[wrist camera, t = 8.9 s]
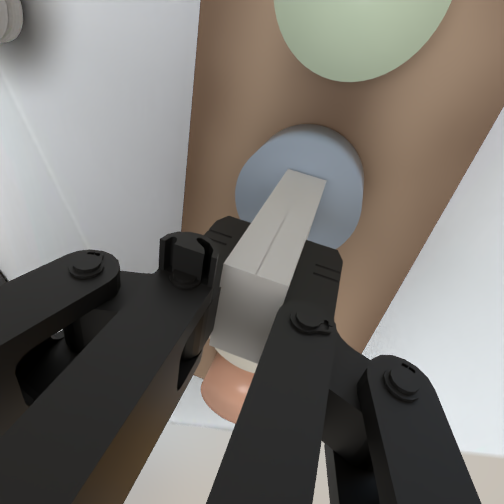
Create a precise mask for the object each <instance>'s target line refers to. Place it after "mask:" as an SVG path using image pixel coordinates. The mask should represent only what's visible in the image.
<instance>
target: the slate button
mask: <svg viewBox="0 0 504 504" xmlns="http://www.w3.org/2000/svg"><path fill="white" fill-rule="evenodd" d="M288 169H290V170H293V171H297V172H300V173H303V174H307V175H310V176H313V177H317V178H320V179H323V180H327V181H326V184H325V187H324V190H323V193H322V196H321V199H320V202H319V205H318V208H317V211H316V214H315V217H314V220H313V223H312V226H311V229H310V232H309V235H308V238H307V240H308V241H312V242H315V243H318V244H321V245H324V246H327V247H330V248H333V249H337V248H338V247H340V246H341V245H342V244H343V243H345V242H346V240H347V239H348V238H349V237H350V236H351V235H352V233H353V232H354V230H355V228H356V226H357V224H358V221H359V219H360V215H361V209H362V199H363V188H364V171H363V166H362V162H361V160H360V157H359V155H358V153H357V152H356V150H355V148H354V147H353V146H352V145H351V143H350V142H349V141H348V140H347V139H346V138H345V137H343V136H342V135H341V134H339V133H338V132H336V131H334V130H332V129H330V128H327V127H324V126H320V125H315V124H300V125H295V126H291V127H288V128H285V129H283V130H281V131H279V132H278V133H276V134H275V135H273V136H272V137H271V138H270V139H269V140H268V141H267V142H266V143H265V144H264V145H263V146H262V147H261V148H260V149H259V150H258V151H257V152H256V153H254V154H253V155H252V156H251V157H250V158H249V160H248V161H247V162H246V163H245V165H244V166H243V168H242V170H241V171H240V174H239V176H238V179H237V183H236V189H235V202H236V208H237V212H238V215H239V218H240V219H241V220H244V221H247V222H250V223H251V222H252V221H253V220H254V218H255V217H256V215H257V214H258V212H259V211H260V209H261V208H262V206H263V205H264V203H265V202H266V200H267V199H268V197H269V196H270V195H271V193H272V192H273V190H274V189H275V187H276V186H277V184H278V183H279V181H280V180H281V178H282V177H283V175H284V174H285V172H286V171H287V170H288Z"/></svg>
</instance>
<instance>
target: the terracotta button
mask: <svg viewBox="0 0 504 504" xmlns="http://www.w3.org/2000/svg"><path fill="white" fill-rule="evenodd" d="M253 376H254V373H251V372H248V371H245V370H243V369H241V368H239V367H237V366H235V365H233V364H232V363H230V362H229V361H227V360H226V359H225V358H224V357H223V356H222V355H220V354H219V352H217V354H216V356H215V358H214V360H213V362H212V364H211V366H210V368H209V370H208V372H207V374H206V376H205V378H204V380H203V382H202V385H201V394H202V397H203V399H204V401H205V402H206V404H207V405H208V406H209V407H210V408H211V409H212V410H213V411H214V412H215V413H216V414H218V415H219V416H221V417H222V418H224V419H226V420H228V421H230V422H232V423H235V424H236V422H237V419H238V416H239V414H240V411H241V408H242V406H243V403H244V400H245V398H246V395H247V392H248V389H249V387H250V384H251V381H252V379H253Z"/></svg>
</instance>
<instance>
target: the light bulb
mask: <svg viewBox="0 0 504 504" xmlns="http://www.w3.org/2000/svg"><path fill="white" fill-rule="evenodd" d="M22 25H23V10H22V5H21V2H20V0H0V43H6V42H11V41H12V40H14V39H15V38H17V36H18V35H19V34H20V32H21V29H22Z"/></svg>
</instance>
